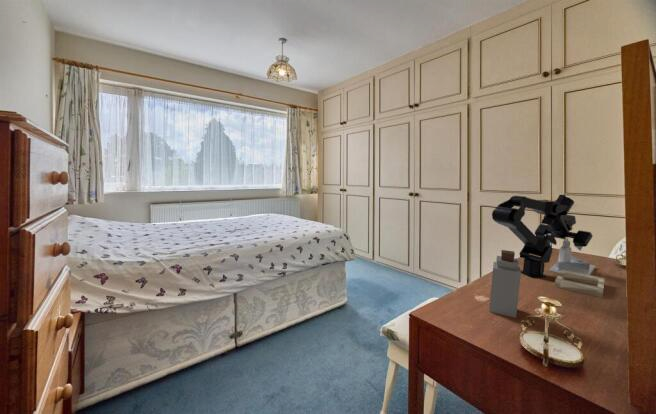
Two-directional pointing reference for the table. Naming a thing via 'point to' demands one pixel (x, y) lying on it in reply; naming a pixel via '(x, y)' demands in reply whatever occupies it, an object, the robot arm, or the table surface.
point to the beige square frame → (578, 286)
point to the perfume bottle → (505, 285)
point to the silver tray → (573, 266)
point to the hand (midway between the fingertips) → (567, 246)
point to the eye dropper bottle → (565, 252)
